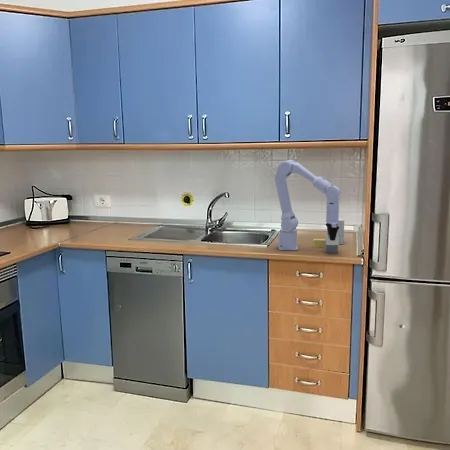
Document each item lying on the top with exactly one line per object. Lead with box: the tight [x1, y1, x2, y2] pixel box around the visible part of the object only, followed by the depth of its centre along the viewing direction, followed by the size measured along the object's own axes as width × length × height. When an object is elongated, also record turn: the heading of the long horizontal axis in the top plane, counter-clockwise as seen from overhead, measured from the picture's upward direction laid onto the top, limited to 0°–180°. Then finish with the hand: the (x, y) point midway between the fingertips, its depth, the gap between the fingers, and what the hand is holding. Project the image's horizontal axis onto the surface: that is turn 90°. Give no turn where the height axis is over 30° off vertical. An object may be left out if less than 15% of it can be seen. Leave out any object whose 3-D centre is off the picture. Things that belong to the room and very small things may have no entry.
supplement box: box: [326, 217, 345, 245], centre depth 244 cm, size 7×7×13 cm
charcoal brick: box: [325, 244, 339, 254], centre depth 226 cm, size 6×3×4 cm, turn 84°
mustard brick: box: [312, 238, 326, 249], centre depth 237 cm, size 6×3×4 cm, turn 84°
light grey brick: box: [325, 234, 339, 246], centre depth 225 cm, size 6×3×4 cm, turn 84°
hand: (331, 239), depth 225 cm, fingers open, 4 cm apart
